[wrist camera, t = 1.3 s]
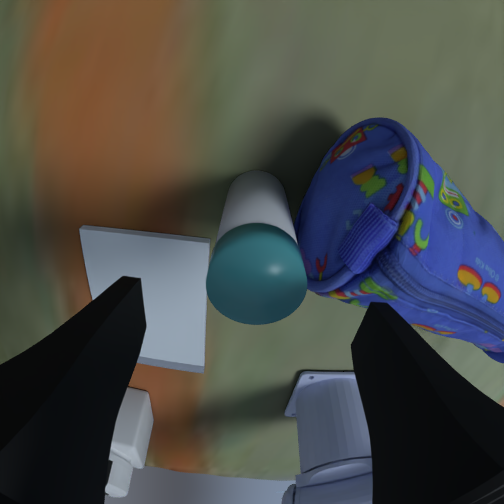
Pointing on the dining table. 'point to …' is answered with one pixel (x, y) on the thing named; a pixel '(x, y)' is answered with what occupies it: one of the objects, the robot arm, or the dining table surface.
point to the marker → (256, 254)
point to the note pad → (157, 288)
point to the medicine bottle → (129, 441)
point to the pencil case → (402, 237)
